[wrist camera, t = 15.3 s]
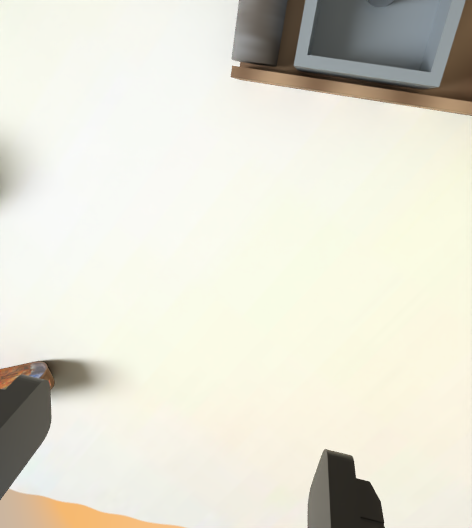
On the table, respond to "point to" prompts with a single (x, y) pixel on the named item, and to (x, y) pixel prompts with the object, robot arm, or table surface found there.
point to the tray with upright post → (379, 40)
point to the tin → (25, 373)
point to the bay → (285, 74)
